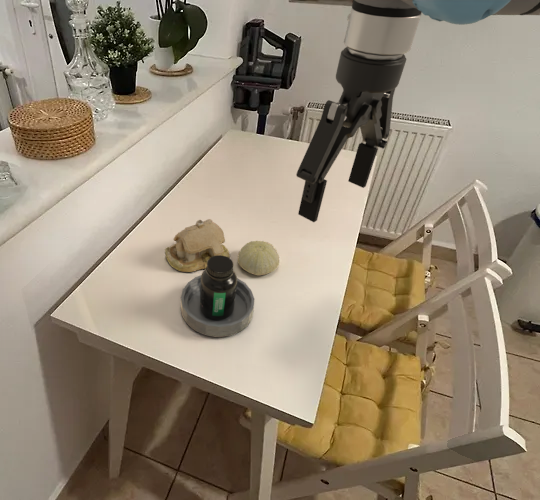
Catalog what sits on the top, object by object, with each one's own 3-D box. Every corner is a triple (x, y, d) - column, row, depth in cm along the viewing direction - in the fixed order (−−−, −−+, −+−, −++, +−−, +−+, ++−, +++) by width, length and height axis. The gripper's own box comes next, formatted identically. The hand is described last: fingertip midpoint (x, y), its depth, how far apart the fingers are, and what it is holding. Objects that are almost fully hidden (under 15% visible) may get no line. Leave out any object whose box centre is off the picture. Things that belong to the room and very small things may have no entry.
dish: (266, 323, 83) (268, 310, 81) (201, 349, 78) (202, 336, 76) (229, 277, 93) (230, 265, 91) (169, 297, 88) (169, 285, 86)
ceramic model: (210, 234, 104) (212, 199, 98) (237, 261, 97) (241, 225, 91) (159, 252, 99) (157, 217, 92) (183, 282, 92) (183, 246, 85)
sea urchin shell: (226, 260, 94) (244, 228, 94) (240, 266, 101) (256, 237, 101) (261, 280, 90) (280, 246, 89) (272, 285, 96) (290, 254, 96)
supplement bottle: (223, 326, 82) (228, 281, 74) (193, 312, 85) (194, 267, 77) (239, 304, 86) (245, 259, 79) (210, 291, 89) (213, 246, 81)
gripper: (394, 27, 60) (354, 163, 74) (285, 64, 47) (261, 221, 60) (448, 38, 56) (395, 180, 69) (346, 82, 43) (306, 246, 56)
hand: (333, 199), depth 65 cm, fingers open, 13 cm apart
